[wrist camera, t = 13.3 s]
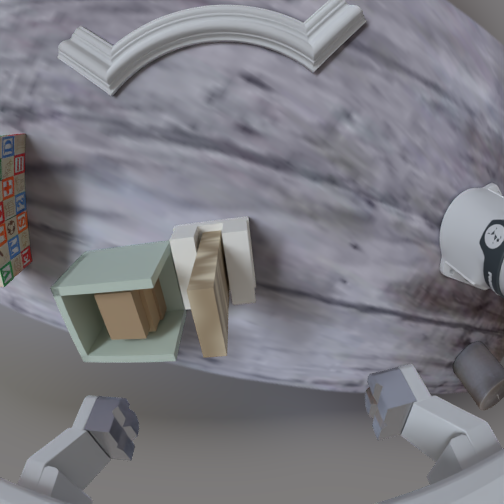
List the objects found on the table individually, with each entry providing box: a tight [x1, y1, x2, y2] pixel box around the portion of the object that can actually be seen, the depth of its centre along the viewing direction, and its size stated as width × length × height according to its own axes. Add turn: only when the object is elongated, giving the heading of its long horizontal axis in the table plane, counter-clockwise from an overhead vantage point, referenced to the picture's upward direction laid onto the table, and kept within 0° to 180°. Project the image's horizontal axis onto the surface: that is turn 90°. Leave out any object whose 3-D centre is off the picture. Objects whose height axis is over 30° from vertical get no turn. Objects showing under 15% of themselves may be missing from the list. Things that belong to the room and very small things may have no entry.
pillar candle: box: [453, 341, 504, 410], centre depth 50 cm, size 10×10×15 cm
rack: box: [51, 240, 187, 362], centre depth 40 cm, size 14×12×11 cm
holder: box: [169, 216, 256, 310], centre depth 41 cm, size 10×10×6 cm
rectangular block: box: [187, 230, 229, 358], centre depth 36 cm, size 2×8×15 cm, turn 6°
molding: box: [57, 0, 367, 96], centre depth 31 cm, size 42×12×3 cm, turn 95°
